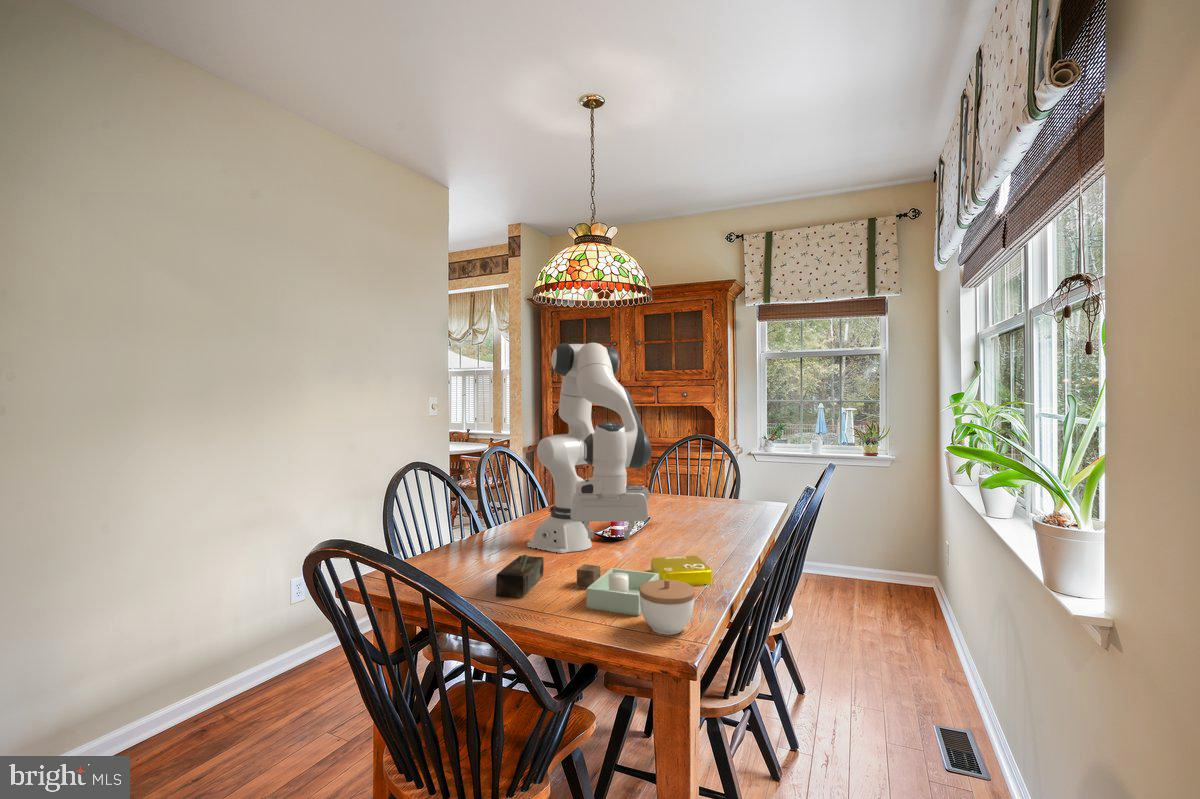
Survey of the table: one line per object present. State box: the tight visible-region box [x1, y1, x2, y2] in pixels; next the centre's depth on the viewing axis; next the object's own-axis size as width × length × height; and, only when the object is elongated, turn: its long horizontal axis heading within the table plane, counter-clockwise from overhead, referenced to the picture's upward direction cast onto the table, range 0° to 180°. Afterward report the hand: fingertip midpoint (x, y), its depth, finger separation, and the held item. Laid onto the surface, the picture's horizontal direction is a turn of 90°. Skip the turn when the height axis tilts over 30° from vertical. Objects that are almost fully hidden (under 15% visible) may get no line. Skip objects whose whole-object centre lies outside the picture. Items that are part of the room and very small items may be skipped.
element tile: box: [650, 555, 713, 586], centre depth 168 cm, size 15×15×5 cm
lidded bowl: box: [639, 579, 696, 636], centre depth 133 cm, size 13×13×11 cm
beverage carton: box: [495, 554, 545, 599], centre depth 162 cm, size 8×19×7 cm, turn 169°
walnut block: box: [576, 563, 601, 589], centre depth 162 cm, size 5×5×5 cm
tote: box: [586, 567, 659, 617], centre depth 151 cm, size 14×18×5 cm
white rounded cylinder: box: [609, 572, 629, 593], centre depth 147 cm, size 5×5×7 cm
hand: (608, 537), depth 151 cm, fingers open, 8 cm apart
